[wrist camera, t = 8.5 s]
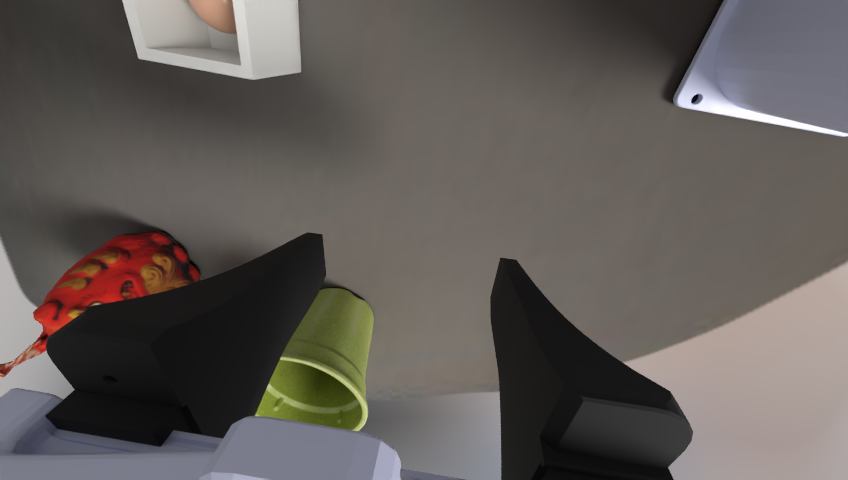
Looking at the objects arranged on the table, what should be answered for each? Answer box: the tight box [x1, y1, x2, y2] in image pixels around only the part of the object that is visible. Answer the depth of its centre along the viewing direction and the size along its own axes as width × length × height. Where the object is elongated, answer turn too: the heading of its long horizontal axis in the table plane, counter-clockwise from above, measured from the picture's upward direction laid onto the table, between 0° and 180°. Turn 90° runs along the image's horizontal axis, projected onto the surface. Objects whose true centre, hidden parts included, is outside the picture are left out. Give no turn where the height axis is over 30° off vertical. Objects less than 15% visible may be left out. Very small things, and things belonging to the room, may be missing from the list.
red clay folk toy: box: [0, 231, 201, 378], centre depth 22 cm, size 8×7×15 cm
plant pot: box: [255, 288, 374, 431], centre depth 25 cm, size 9×9×9 cm
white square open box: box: [122, 0, 301, 80], centre depth 16 cm, size 6×6×5 cm
